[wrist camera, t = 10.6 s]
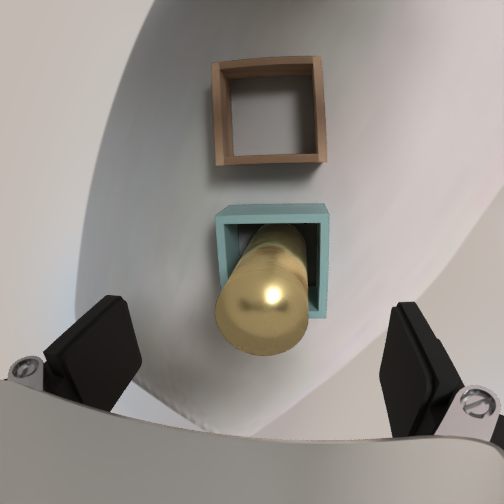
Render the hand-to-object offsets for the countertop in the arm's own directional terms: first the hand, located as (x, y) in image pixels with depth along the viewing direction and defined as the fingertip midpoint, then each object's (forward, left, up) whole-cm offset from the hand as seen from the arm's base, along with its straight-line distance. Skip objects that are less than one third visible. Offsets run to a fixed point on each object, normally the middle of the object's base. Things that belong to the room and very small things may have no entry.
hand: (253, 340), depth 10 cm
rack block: (+1, 0, -13) cm, 13 cm away
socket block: (-9, 0, -13) cm, 16 cm away
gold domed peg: (+1, 0, -13) cm, 13 cm away
